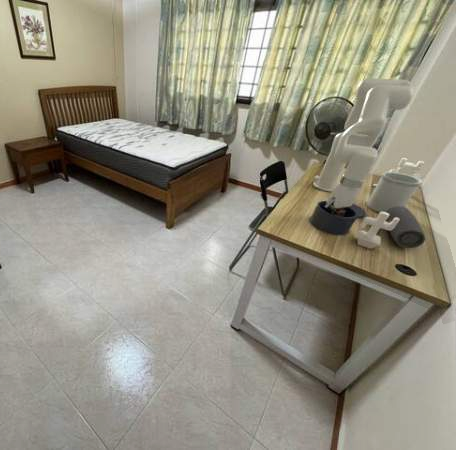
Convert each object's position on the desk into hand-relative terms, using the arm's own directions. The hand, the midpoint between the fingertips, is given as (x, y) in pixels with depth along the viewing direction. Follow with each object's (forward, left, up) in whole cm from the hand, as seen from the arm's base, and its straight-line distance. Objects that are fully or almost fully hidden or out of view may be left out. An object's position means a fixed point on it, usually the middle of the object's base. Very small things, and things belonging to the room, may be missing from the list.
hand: (331, 219), depth 108 cm
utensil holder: (-7, +42, -3) cm, 43 cm away
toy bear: (0, 0, -2) cm, 2 cm away
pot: (0, 0, -3) cm, 3 cm away
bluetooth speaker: (+13, +23, -3) cm, 26 cm away
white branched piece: (-22, +70, -3) cm, 73 cm away
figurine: (+15, +3, -3) cm, 16 cm away
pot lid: (-10, +21, -3) cm, 23 cm away
